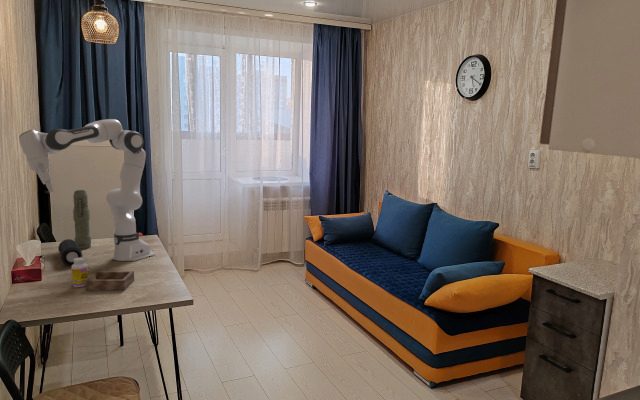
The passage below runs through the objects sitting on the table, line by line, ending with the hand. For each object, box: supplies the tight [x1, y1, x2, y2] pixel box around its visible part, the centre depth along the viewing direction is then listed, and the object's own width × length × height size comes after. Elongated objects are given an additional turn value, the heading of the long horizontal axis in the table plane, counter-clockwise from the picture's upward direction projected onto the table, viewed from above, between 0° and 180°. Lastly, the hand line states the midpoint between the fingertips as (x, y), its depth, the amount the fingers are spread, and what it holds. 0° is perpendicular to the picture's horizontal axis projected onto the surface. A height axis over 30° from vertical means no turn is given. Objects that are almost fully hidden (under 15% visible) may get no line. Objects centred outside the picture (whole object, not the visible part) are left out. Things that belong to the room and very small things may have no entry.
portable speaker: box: [57, 238, 83, 267], centre depth 262 cm, size 26×10×10 cm, turn 33°
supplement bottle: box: [71, 257, 89, 288], centre depth 223 cm, size 7×7×13 cm
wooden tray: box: [84, 270, 135, 291], centre depth 225 cm, size 18×14×5 cm
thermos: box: [72, 189, 92, 250], centre depth 288 cm, size 9×12×35 cm
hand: (51, 191), depth 229 cm, fingers open, 8 cm apart
